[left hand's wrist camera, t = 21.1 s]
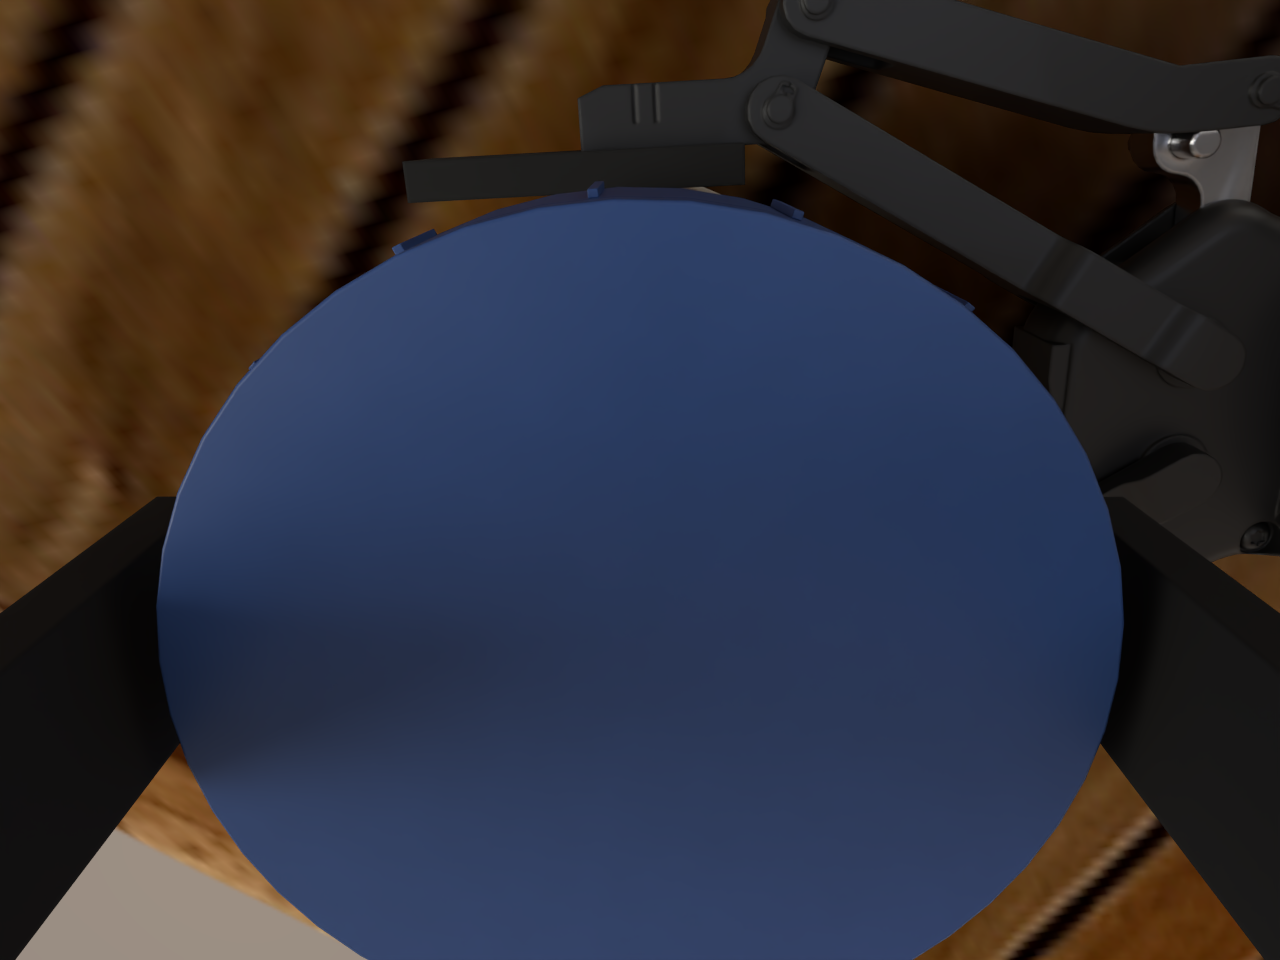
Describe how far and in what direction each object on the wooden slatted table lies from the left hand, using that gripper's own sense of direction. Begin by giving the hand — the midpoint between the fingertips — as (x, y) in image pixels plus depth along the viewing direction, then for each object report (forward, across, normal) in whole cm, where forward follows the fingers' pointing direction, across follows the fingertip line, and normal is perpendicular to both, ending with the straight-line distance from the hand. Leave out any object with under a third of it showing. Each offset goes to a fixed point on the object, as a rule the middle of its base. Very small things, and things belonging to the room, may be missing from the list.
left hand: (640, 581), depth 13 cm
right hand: (+8, -4, 0) cm, 9 cm away
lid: (-3, 0, 0) cm, 3 cm away
